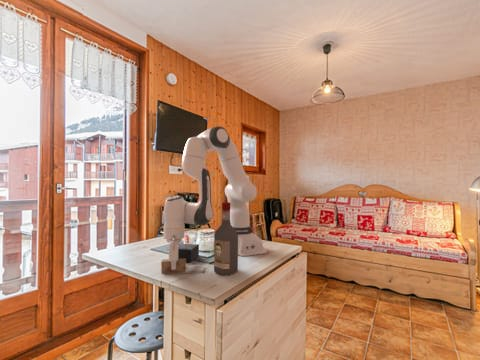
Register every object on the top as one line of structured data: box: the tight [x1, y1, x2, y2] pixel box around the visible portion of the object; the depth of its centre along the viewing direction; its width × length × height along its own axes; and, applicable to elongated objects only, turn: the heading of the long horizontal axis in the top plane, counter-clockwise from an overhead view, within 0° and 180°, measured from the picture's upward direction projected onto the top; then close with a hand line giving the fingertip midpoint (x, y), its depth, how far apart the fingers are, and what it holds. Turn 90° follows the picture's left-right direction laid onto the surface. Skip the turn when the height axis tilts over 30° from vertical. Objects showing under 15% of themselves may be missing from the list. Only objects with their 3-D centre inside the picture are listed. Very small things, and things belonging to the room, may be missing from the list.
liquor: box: [213, 201, 239, 277], centre depth 107 cm, size 9×9×30 cm
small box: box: [178, 242, 200, 263], centre depth 124 cm, size 11×6×10 cm
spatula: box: [160, 258, 205, 274], centre depth 107 cm, size 18×6×5 cm, turn 99°
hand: (173, 265), depth 107 cm, fingers open, 8 cm apart
